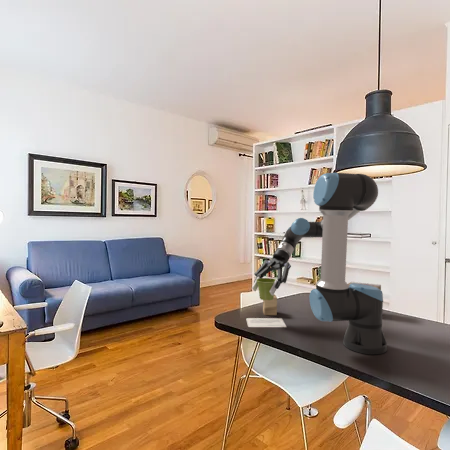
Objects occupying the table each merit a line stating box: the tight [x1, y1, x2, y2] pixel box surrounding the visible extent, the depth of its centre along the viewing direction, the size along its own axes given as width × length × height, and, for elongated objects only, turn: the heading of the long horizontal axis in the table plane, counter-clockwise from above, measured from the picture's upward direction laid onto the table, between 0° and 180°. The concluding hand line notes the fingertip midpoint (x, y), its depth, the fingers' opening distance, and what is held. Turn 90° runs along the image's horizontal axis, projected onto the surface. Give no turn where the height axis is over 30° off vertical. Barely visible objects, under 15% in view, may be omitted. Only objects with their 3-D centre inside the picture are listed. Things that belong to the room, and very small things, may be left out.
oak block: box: [262, 293, 278, 316], centre depth 163 cm, size 6×6×9 cm
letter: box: [246, 317, 287, 328], centre depth 149 cm, size 12×17×1 cm
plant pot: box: [256, 277, 277, 301], centre depth 148 cm, size 9×9×9 cm
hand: (262, 291), depth 146 cm, fingers closed on plant pot, 9 cm apart
